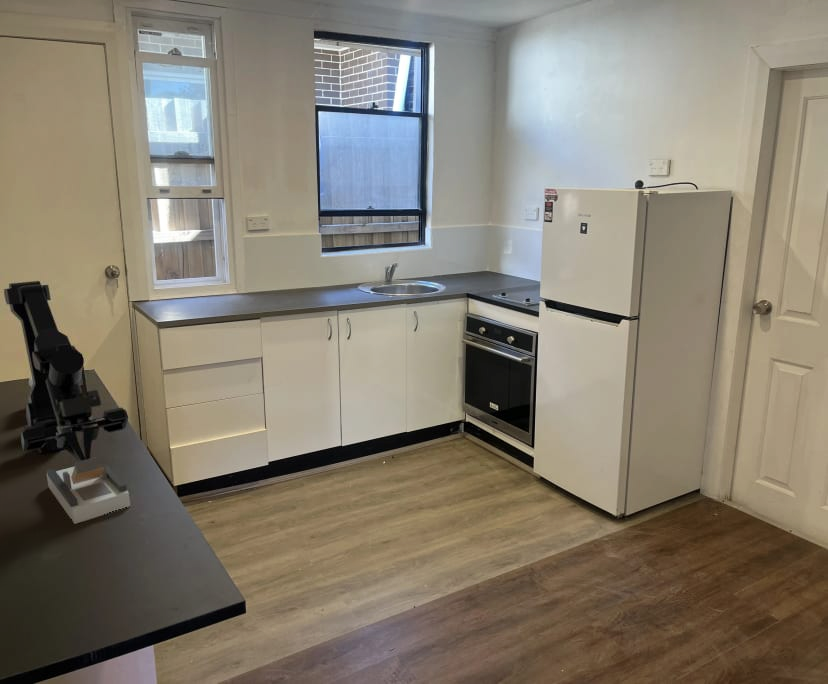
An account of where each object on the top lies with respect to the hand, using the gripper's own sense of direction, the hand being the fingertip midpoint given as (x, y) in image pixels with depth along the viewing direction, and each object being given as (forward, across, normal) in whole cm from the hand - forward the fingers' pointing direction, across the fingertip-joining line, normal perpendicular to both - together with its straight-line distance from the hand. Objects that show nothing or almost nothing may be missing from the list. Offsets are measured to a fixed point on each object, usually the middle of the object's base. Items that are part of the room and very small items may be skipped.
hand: (87, 467), depth 128 cm
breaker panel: (+4, 0, +7) cm, 8 cm away
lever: (0, 0, +4) cm, 4 cm away
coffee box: (-28, +7, +43) cm, 52 cm away
